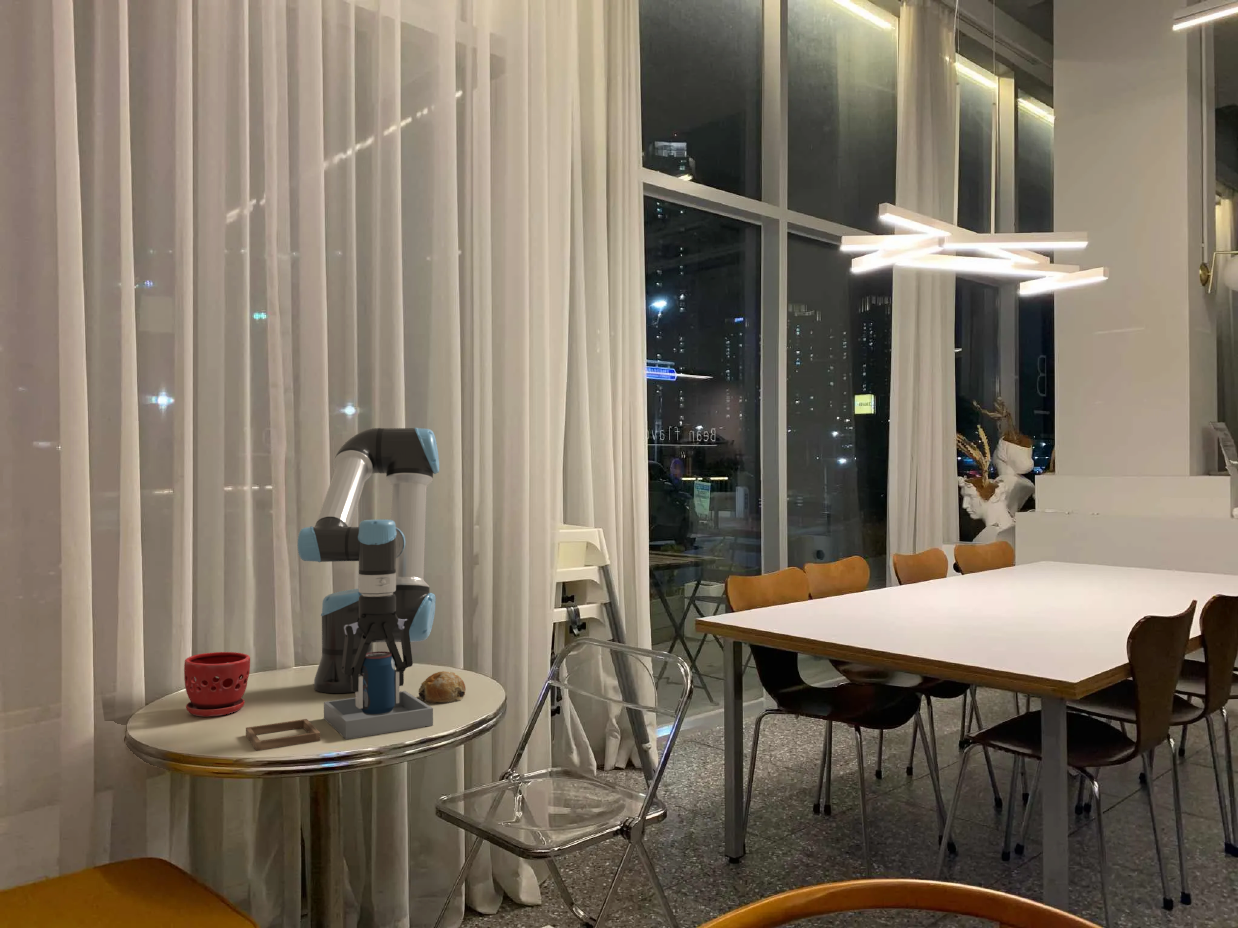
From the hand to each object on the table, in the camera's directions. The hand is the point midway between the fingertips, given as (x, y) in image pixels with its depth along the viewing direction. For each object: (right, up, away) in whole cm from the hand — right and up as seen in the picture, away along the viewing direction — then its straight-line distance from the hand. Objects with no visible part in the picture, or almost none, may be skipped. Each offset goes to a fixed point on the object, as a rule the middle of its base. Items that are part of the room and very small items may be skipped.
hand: (377, 704), depth 184 cm
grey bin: (0, -4, 0) cm, 4 cm away
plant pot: (-37, -4, +9) cm, 38 cm away
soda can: (0, -2, 0) cm, 2 cm away
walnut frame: (-16, -4, -11) cm, 19 cm away
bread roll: (+9, -4, +19) cm, 22 cm away
